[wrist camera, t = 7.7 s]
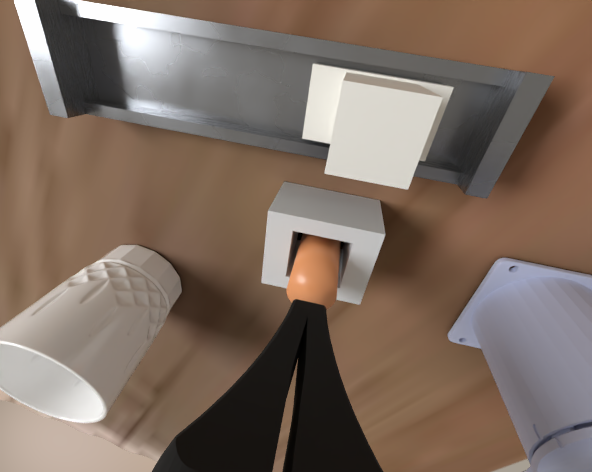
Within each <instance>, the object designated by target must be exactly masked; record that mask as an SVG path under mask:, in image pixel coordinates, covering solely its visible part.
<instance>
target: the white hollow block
mask: <svg viewBox="0 0 592 472" xmlns="http://www.w3.org/2000/svg"><path fill="white" fill-rule="evenodd" d="M298 232H301V233H305V234H310V235H315V236H320V237H324V238H329V239H334V240H339V241H344V245H343V249H340V260H339V273H338V286H337V298H336V300H341V301H345V302H350V303H354V304H359V305H360V303H361V300H362V297H363V295H364V292H365V289H366V286H367V284H368V281H369V278H370V276H371V273H372V270H373V267H374V265H375V262H376V259H377V257H378V254H379V251H380V248H381V246H382V243H383V240H384V237H385V235H386V234H385V228H384V222H383V216H382V210H381V204H380V200H376V199H370V198H365V197H360V196H355V195H350V194H345V193H340V192H335V191H330V190H325V189H320V188H315V187H310V186H305V185H300V184H295V183H290V182H284V183H283V185H282V186H281V188H280V190H279V192H278V194H277V195H276V197H275V199H274V201H273V203H272V204H271V206H270V208H269V210H268V218H267V228H266V239H265V250H264V260H263V271H262V282H261V283H265V284H270V285H274V286H278V287H283V288H287V285H288V282H289V279H290V275H291V272H292V268H293V265H294V261H295V258H296V255H297V251H298V248H299V244H300V241H301V240H297V238H298Z"/></svg>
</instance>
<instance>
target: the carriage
mask: <svg viewBox="0 0 592 472" xmlns="http://www.w3.org/2000/svg"><path fill="white" fill-rule="evenodd" d="M453 88H454V87H452V86H449V85H446V84H440V83H434V82H428V81H422V80H416V79H410V78H404V77H398V76H392V75H386V74H380V73H374V72H368V71H362V70H356V69H350V68H344V67H338V66H332V65H326V64H320V63H314V64H313V66H312V73H311V80H310V87H309V94H308V101H307V108H306V115H305V122H304V128H303V135H302V139H307V140H313V141H318V142H323V143H329V144H330V148H329V153H328V158H327V163H326V168H325V173H324V174H329V175H335V176H340V177H345V178H350V179H355V180H360V181H366V182H371V183H376V184H381V185H386V186H391V187H396V188H402V189H407V190H408V188H409V186H410V183H411V180H412V178H413V175H414V172H415V170H416V167H417V165H418V162H419V160H420V161H425V160H426V157H427V155H428V152H429V150H430V147H431V144H432V142H433V139H434V137H435V134H436V132H437V129H438V127H439V124H440V121H441V119H442V116H443V114H444V111H445V109H446V106H447V104H448V101H449V99H450V96H451V93H452V91H453Z"/></svg>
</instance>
